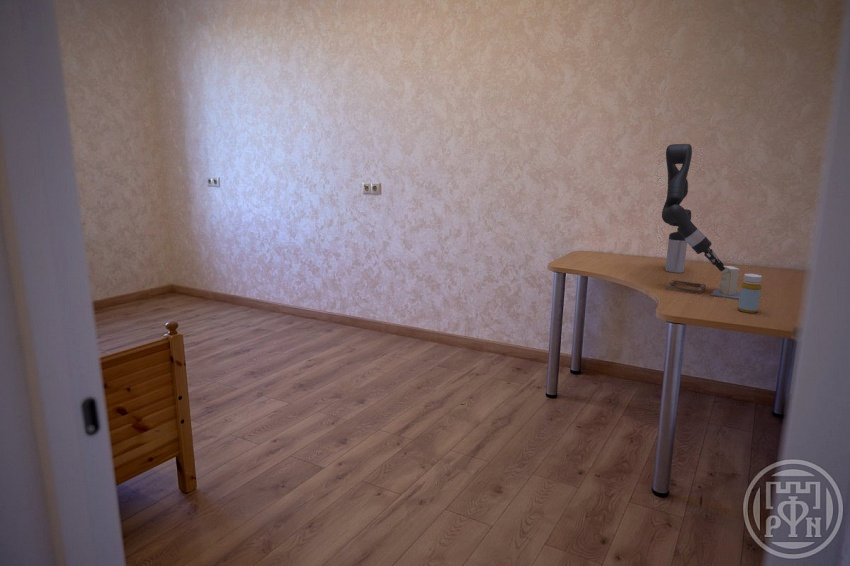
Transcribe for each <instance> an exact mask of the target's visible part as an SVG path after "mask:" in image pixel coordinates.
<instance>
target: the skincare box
mask: <svg viewBox="0 0 850 566" xmlns="http://www.w3.org/2000/svg"><path fill="white" fill-rule="evenodd" d="M724 267H725V270H723V271H721V278H720V283H719V288H718V289H719V292H721V293H723V294H725V295H735V293H736V291H737V288H738V281H739V276H740V271H741V269H740V268H738V267H735V266H732V265H729V266H728V265H724Z"/></svg>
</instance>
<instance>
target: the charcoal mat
mask: <svg viewBox="0 0 850 566" xmlns="http://www.w3.org/2000/svg"><path fill="white" fill-rule="evenodd" d="M740 292H741V291H737V290H736V293H735V295H725V294H723V293H721V292H719V288H715V289H713V291H712V292H711V294H710V296H711V297H716V296H717V298H718V297H719V298H723V297H724V299H725V298H726V299H730V298H731V299H732V300H738V301H739V298H740Z"/></svg>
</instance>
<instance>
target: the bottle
mask: <svg viewBox="0 0 850 566" xmlns="http://www.w3.org/2000/svg"><path fill="white" fill-rule="evenodd" d="M762 277H763V276H762V275H761V274H756V273H744V275H743V282H742V283H741V287H740V291H739V292H740V298H739V300H738V306H737V309H738V310H739V311H740V312H742V313H747V314H755V313H757V312H758V310H759V305H760V299H761V292H762V284H761V283H762V279H763V278H762Z"/></svg>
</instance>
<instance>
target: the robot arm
mask: <svg viewBox="0 0 850 566" xmlns="http://www.w3.org/2000/svg"><path fill="white" fill-rule="evenodd" d="M692 155H693V147H692V145H691V143H677V144H676V143H675V144H674V143H673V144H669V145H668V146H667V147H666V150H665V160H666V161H665V162H666V168H667V170H666V171H667V191H666V200H665V202H664V205H663V208H662V210H661V218H662V221H663V222H664V223H666V224H667V225H669V226H671V227H677V231H674V232H670V233H669V234H668V242H667V249H666V250H667V251H666V261H665V268H664V270H665V271H666V272H668V271H669V272H668V273H676V274H681V273H685V272H684V271H685V265H686V264H685V263H686V259H687V258H686V257H687V249H688V248H687V247H688V246H690V248H691V249H692V250H693V251H694V252H695V253H696V254H698V255H699V254H702V253H704V254H703V255H704V257H705V258H706V259H707V260H708V261H709V262H710V263H711V264H712V265H713V266H715V267H716V268H717V269H718V270H719V272H722V271H723V270H725V267H724V266H725V265H724V263H723V261H722V260H721V259H719V256H718V255H717V253H716V252H715V251H714V250H713V249H711V248H710V247H711V246H712V241H711V240H710V239H709V238H708V237H707V236H706V235H705V234H704V233H703V232H702V231H701V230H700V229H699V228H698V227H697V226H696V225H695V224H694V223H693V222H692V210H691V209H685V207H683V206H682V205H681V204H682V203H683V200H684V199H685V198H686V197H687V195H688V192H689V182H688V178H687V177H688V173H689V170H690V166H691V162H692V158H693V157H692ZM677 165H681V167H680V169H679V168H678V167H677Z"/></svg>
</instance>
